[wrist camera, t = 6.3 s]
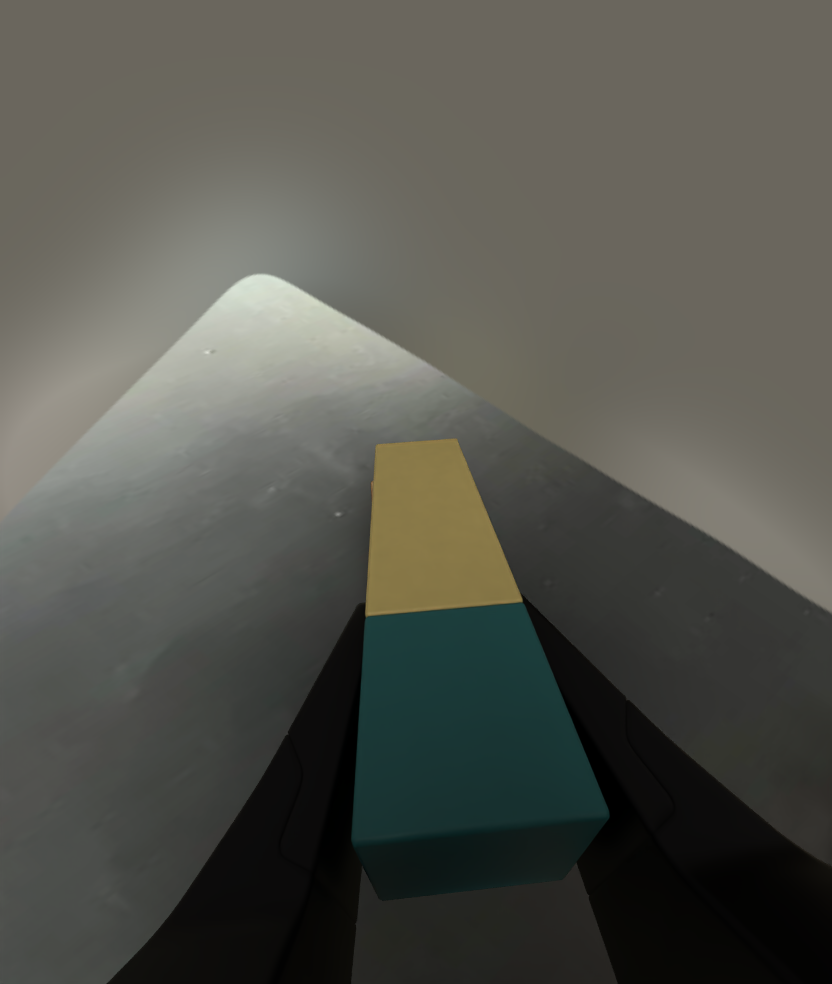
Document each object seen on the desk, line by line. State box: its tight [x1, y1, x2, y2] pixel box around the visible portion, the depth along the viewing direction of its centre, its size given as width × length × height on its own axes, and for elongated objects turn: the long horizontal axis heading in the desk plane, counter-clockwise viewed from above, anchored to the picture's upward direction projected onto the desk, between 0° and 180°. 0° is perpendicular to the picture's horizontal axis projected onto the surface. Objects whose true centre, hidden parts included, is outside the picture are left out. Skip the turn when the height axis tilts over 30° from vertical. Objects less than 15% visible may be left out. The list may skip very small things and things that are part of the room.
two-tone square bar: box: [351, 439, 610, 901], centre depth 10 cm, size 11×3×11 cm, turn 5°
